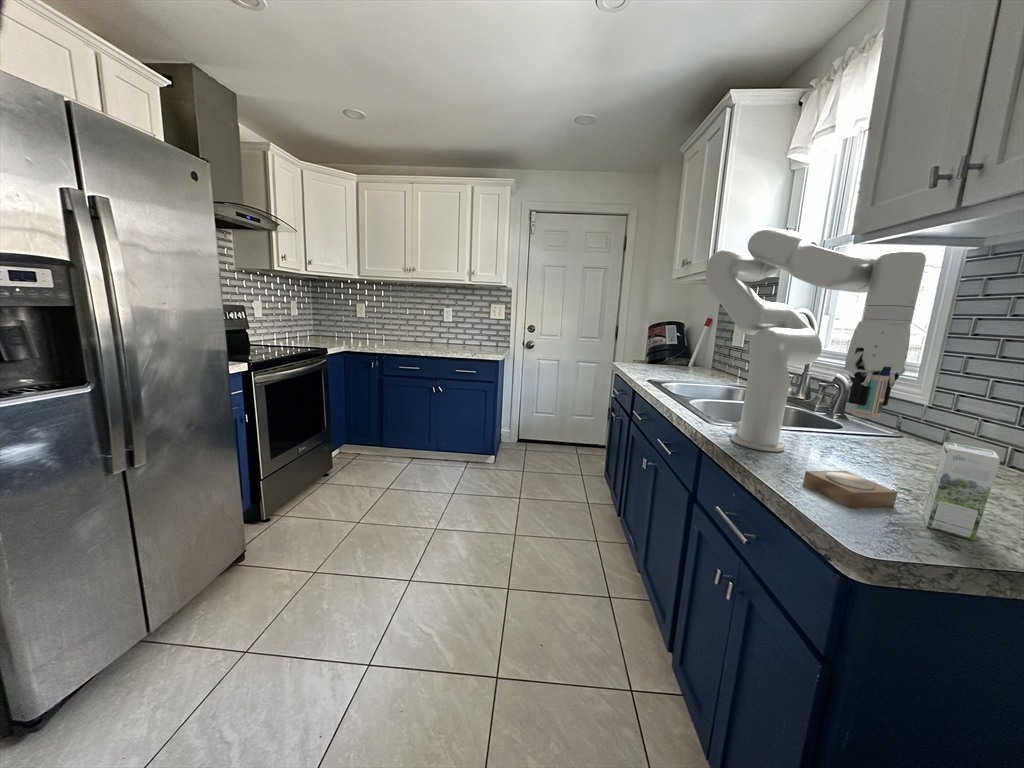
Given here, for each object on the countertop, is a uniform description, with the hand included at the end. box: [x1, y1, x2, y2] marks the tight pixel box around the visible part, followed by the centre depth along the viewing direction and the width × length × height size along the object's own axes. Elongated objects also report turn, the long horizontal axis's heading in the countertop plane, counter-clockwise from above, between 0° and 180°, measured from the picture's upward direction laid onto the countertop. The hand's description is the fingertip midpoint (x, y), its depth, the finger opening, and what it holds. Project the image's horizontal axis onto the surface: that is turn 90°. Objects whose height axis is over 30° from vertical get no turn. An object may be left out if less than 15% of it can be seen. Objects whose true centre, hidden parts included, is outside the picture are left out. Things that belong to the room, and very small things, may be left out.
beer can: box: [850, 365, 892, 420], centre depth 84 cm, size 5×5×12 cm
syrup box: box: [923, 441, 1001, 541], centre depth 68 cm, size 6×6×14 cm
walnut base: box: [802, 470, 898, 509], centre depth 80 cm, size 10×10×3 cm
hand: (867, 403), depth 84 cm, fingers closed on beer can, 4 cm apart
